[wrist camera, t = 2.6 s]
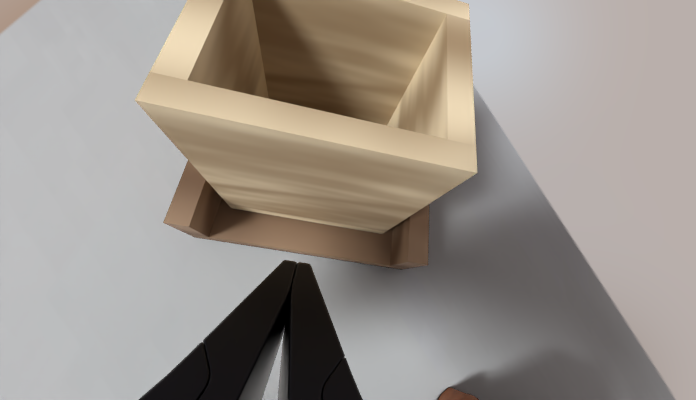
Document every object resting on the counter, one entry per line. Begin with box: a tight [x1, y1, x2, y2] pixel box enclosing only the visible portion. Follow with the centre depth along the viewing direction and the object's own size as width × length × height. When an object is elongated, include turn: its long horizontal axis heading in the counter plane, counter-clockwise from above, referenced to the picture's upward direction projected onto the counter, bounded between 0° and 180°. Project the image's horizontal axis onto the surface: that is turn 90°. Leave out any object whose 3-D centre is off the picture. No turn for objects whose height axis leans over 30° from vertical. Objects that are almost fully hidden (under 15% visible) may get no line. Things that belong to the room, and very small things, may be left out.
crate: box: [135, 0, 477, 234], centre depth 13 cm, size 8×10×10 cm
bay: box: [163, 160, 429, 269], centre depth 17 cm, size 18×14×6 cm
